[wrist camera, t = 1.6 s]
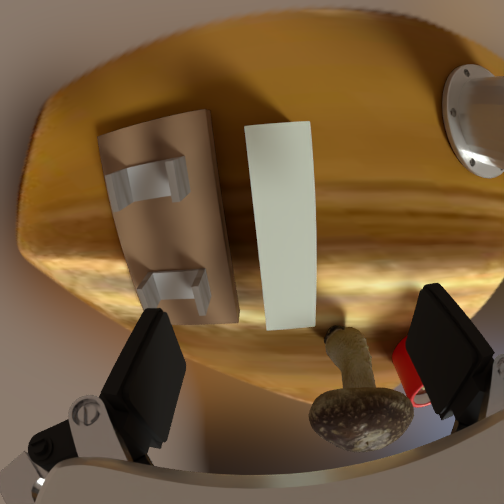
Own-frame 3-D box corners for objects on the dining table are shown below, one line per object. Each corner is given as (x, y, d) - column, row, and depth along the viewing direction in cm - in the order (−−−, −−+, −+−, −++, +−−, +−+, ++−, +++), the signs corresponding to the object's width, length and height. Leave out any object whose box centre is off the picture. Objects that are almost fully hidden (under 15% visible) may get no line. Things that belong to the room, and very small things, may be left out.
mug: (448, 295, 27) (479, 334, 20) (433, 357, 32) (453, 394, 25) (397, 312, 28) (423, 358, 21) (389, 372, 33) (404, 414, 26)
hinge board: (210, 110, 20) (195, 105, 16) (239, 311, 29) (235, 343, 24) (108, 135, 21) (77, 139, 16) (154, 313, 29) (139, 342, 25)
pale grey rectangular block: (295, 124, 21) (312, 121, 13) (304, 272, 26) (317, 326, 19) (250, 128, 21) (244, 126, 14) (266, 276, 27) (266, 330, 20)
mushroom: (381, 339, 30) (420, 439, 16) (319, 365, 32) (335, 470, 19) (362, 284, 27) (418, 401, 13) (289, 317, 29) (300, 444, 15)
